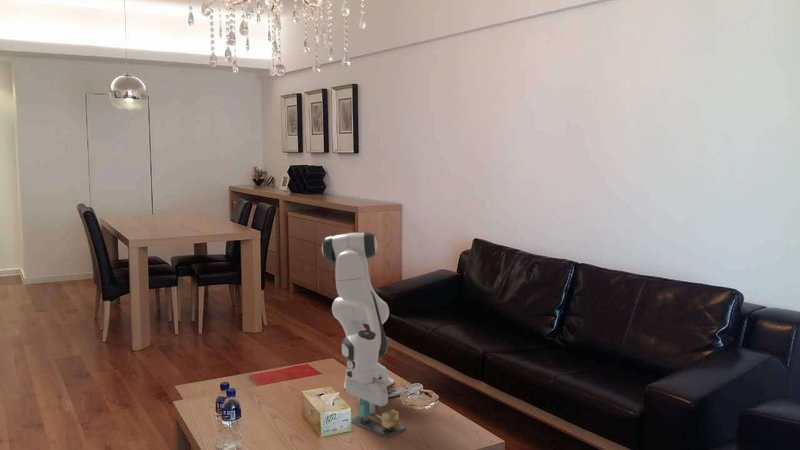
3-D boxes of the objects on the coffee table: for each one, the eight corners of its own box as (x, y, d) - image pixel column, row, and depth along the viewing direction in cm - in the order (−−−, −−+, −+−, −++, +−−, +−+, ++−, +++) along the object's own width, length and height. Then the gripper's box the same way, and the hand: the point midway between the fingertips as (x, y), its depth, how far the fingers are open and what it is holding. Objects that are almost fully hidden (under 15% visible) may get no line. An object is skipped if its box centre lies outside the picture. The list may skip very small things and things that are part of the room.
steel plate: (369, 414, 258) (369, 411, 258) (406, 429, 244) (406, 426, 244) (349, 421, 251) (349, 418, 251) (386, 438, 237) (386, 435, 237)
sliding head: (369, 414, 254) (369, 399, 253) (374, 417, 252) (374, 401, 251) (358, 418, 250) (358, 403, 250) (363, 421, 248) (363, 405, 248)
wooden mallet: (365, 413, 256) (365, 398, 255) (400, 428, 242) (400, 412, 242) (354, 417, 252) (354, 402, 251) (389, 433, 238) (389, 416, 238)
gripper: (392, 379, 244) (391, 416, 246) (355, 366, 259) (355, 401, 260) (379, 383, 240) (379, 421, 241) (342, 370, 254) (342, 405, 256)
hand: (366, 410), depth 251 cm, fingers closed on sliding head, 3 cm apart
